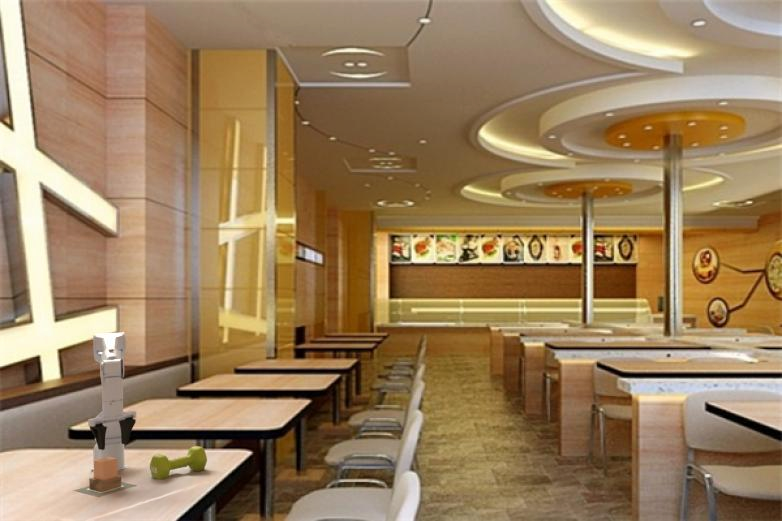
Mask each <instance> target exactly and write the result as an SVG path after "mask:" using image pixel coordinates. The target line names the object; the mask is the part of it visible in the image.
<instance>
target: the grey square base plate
mask: <svg viewBox="0 0 782 521" xmlns="http://www.w3.org/2000/svg"><path fill="white" fill-rule="evenodd" d="M136 486H138V485H137V484H132V483H128V482H124V481H121V487H118V488H115V489H111V490H108V491H104V492H99V491H95V490H91V489H89V485H88V486H85V487H81V488H77V489H74V490H73V491H74V492H76V493H81V494H85V495H89V496H93V497H97V498H101V497H103V496H104V497H105V496H106V495H110V494H113V493H117V492H119V491H124V490H127V489H130V488H132V487H133V488H134V487H136Z"/></svg>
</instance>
